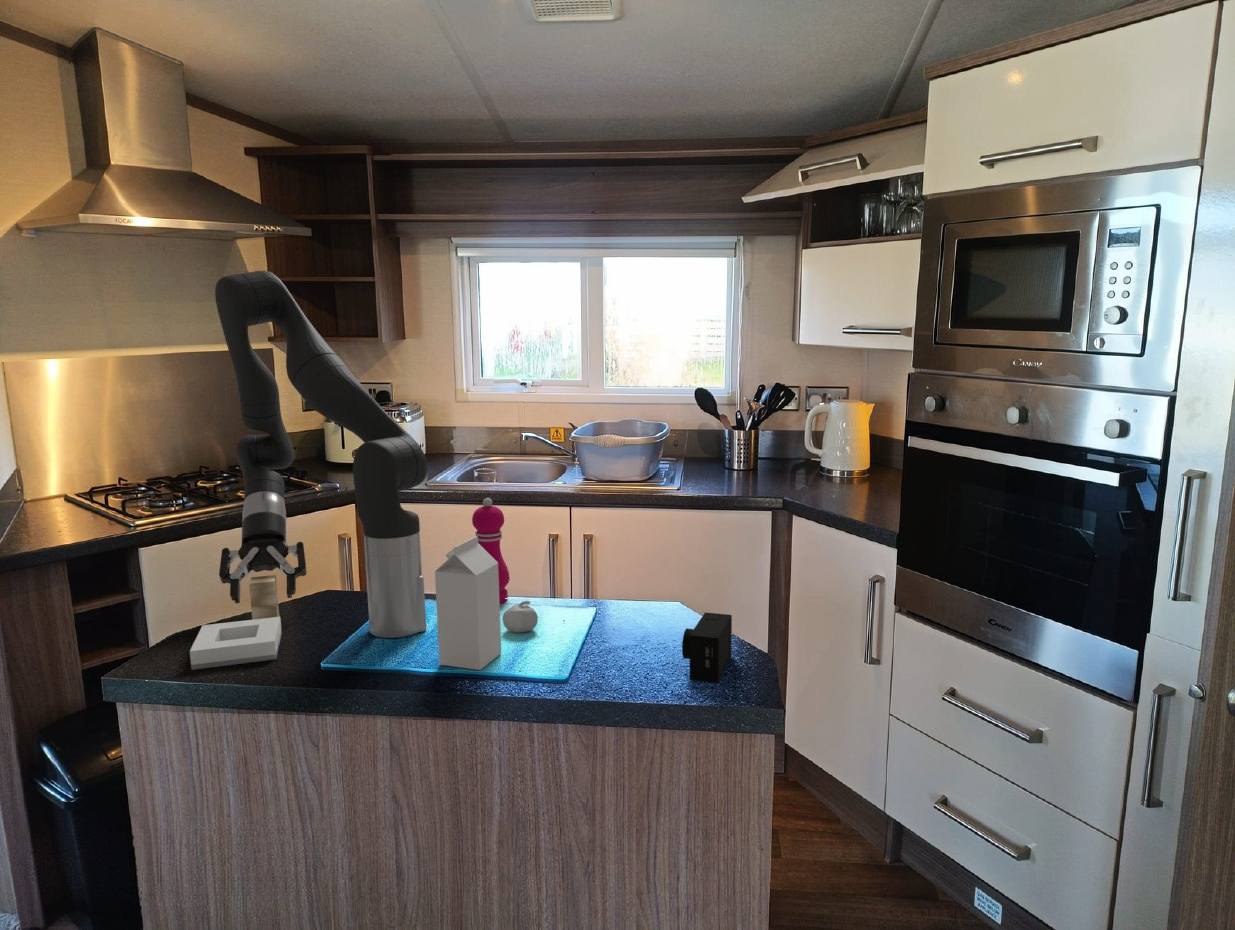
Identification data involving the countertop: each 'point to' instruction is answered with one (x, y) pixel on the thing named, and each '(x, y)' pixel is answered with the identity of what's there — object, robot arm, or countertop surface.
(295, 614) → the countertop surface
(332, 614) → the countertop surface
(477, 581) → the milk carton
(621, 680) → the countertop surface
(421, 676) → the countertop surface
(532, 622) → the garlic
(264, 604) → the block
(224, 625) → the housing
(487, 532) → the pepper mill
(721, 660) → the digital camera
